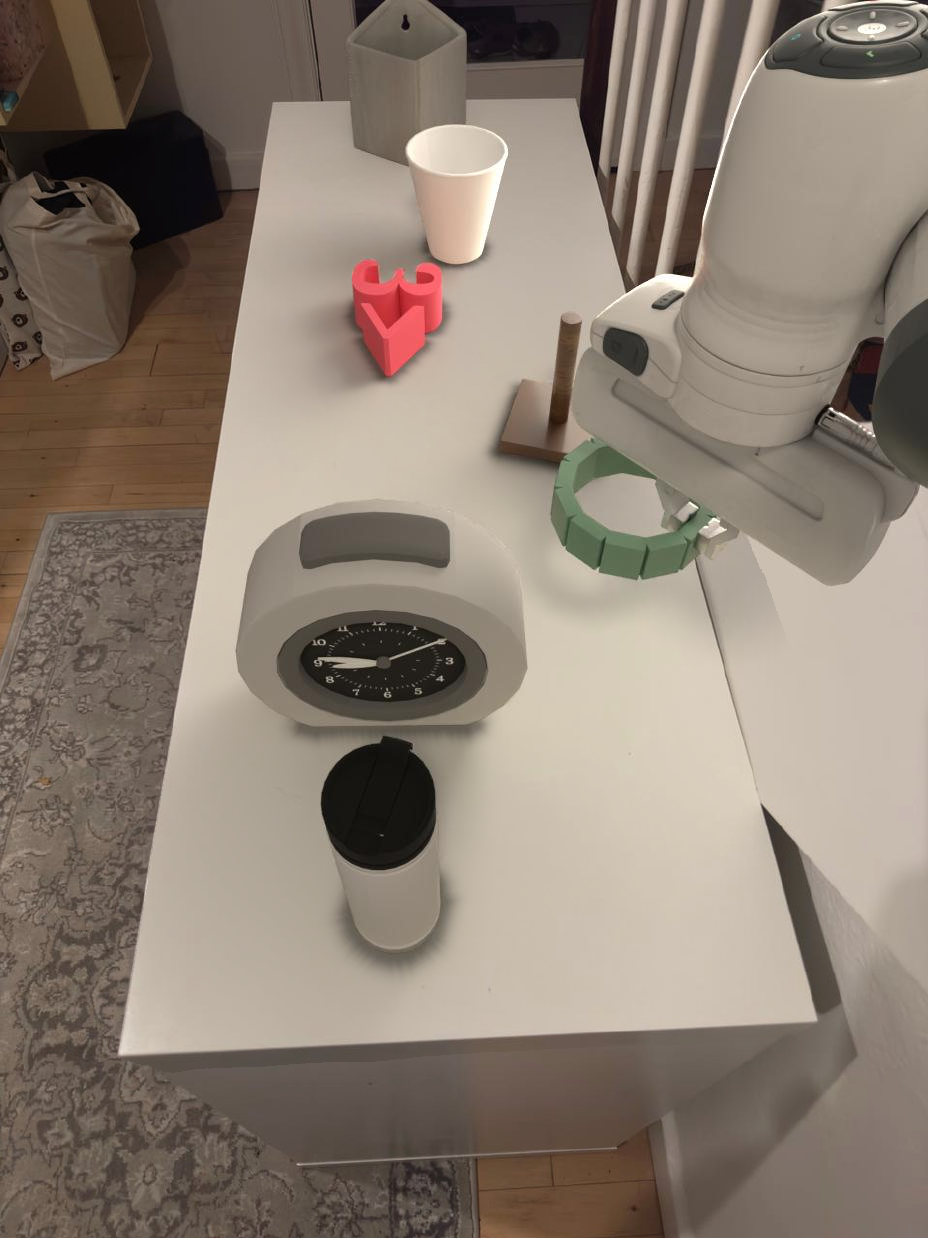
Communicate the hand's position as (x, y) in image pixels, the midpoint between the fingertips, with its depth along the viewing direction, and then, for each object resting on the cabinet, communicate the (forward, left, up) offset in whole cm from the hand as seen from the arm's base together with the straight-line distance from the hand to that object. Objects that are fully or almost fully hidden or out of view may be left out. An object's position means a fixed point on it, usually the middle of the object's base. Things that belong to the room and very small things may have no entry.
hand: (691, 537), depth 57 cm
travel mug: (+14, +23, -20) cm, 33 cm away
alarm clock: (+20, +5, -20) cm, 29 cm away
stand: (+13, -29, -19) cm, 38 cm away
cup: (+32, -58, -20) cm, 69 cm away
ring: (+4, -2, -2) cm, 5 cm away
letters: (+34, -39, -20) cm, 56 cm away
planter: (+44, -79, -20) cm, 93 cm away
